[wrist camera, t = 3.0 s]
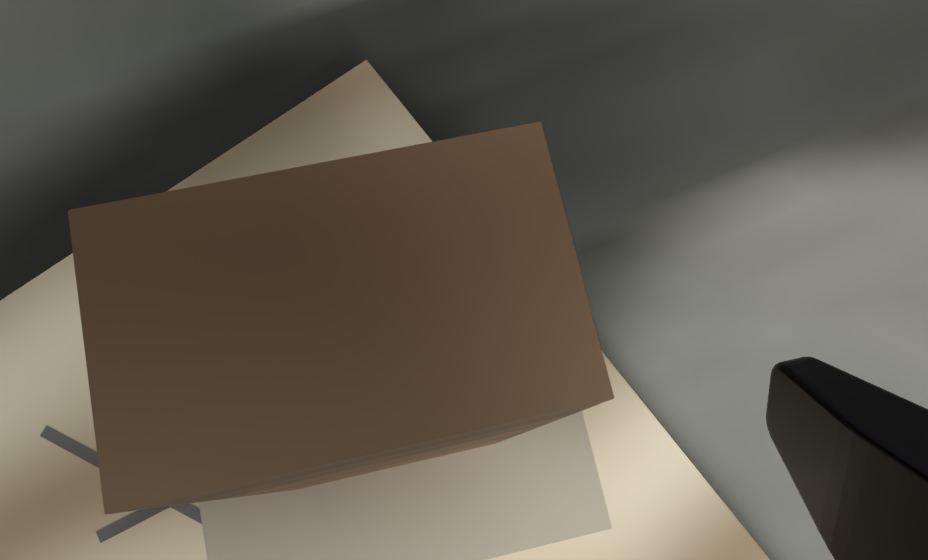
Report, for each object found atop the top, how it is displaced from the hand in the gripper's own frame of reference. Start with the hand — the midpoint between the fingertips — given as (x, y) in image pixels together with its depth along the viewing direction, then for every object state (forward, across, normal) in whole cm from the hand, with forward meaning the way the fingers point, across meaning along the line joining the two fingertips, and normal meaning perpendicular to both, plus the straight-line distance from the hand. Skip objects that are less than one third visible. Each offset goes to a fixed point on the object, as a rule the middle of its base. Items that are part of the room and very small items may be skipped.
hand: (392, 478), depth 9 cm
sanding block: (+7, 0, +5) cm, 8 cm away
